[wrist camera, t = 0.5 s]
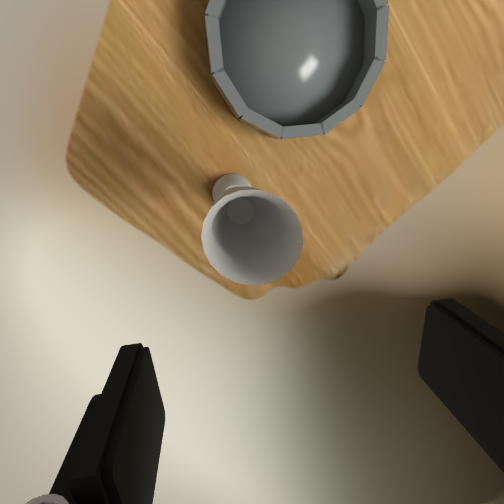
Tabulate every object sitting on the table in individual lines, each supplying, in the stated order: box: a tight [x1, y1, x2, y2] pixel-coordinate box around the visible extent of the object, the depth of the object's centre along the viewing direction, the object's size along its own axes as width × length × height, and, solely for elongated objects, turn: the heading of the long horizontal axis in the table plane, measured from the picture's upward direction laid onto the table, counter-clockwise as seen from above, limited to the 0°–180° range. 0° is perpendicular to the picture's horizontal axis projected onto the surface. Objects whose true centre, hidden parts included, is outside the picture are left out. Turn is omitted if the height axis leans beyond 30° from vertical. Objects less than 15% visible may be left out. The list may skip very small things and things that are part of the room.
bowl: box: [205, 0, 389, 139], centre depth 32 cm, size 18×18×4 cm
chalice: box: [201, 173, 303, 285], centre depth 30 cm, size 7×7×18 cm
